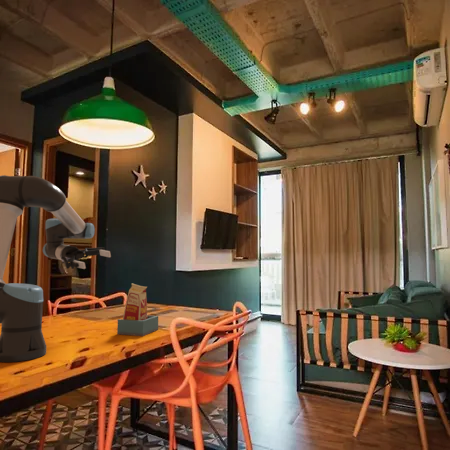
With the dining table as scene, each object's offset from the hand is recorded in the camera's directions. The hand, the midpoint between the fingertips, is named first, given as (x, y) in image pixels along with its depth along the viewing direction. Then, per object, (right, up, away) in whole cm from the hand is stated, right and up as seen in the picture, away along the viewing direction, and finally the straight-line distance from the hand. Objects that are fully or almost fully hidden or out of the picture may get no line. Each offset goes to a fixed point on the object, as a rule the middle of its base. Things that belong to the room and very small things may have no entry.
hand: (97, 259), depth 154 cm
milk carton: (+17, -31, -1) cm, 35 cm away
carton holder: (+17, -31, 0) cm, 36 cm away
